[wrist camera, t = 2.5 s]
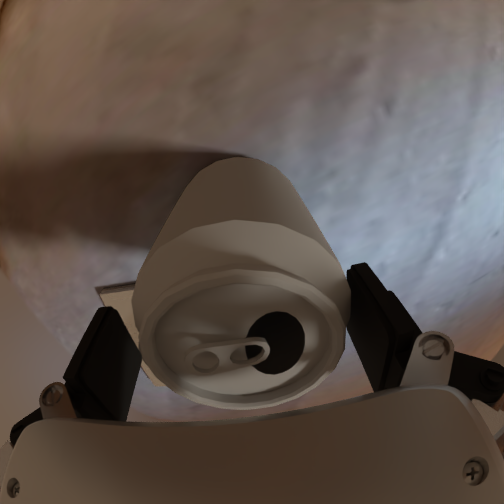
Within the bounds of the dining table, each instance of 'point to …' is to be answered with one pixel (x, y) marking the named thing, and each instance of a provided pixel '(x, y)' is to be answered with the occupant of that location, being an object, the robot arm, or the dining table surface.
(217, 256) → the can
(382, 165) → the dining table surface
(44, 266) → the dining table surface
